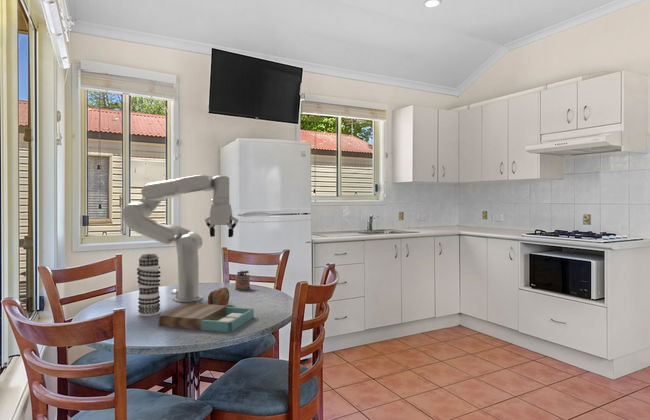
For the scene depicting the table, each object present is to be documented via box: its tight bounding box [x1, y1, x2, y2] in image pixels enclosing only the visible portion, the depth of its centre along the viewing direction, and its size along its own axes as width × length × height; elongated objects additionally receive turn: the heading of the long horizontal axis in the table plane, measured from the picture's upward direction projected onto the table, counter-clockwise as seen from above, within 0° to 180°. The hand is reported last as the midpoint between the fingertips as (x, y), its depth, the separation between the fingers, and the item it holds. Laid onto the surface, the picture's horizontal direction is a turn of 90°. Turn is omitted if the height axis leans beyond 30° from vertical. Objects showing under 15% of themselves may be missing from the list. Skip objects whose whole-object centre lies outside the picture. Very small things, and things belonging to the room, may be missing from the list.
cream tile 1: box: [218, 318, 234, 322], centre depth 156 cm, size 5×5×2 cm
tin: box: [207, 287, 230, 306], centre depth 183 cm, size 15×3×8 cm, turn 165°
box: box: [200, 306, 255, 333], centre depth 160 cm, size 12×20×4 cm, turn 166°
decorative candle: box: [136, 253, 162, 317], centre depth 173 cm, size 9×9×25 cm
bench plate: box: [158, 302, 228, 331], centre depth 164 cm, size 18×20×4 cm
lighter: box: [234, 270, 251, 291], centre depth 221 cm, size 8×3×10 cm, turn 117°
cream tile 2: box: [226, 313, 242, 319], centre depth 163 cm, size 5×5×2 cm
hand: (221, 236), depth 199 cm, fingers open, 9 cm apart
